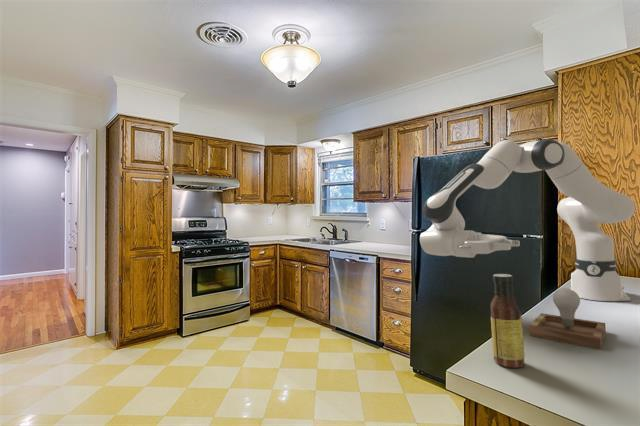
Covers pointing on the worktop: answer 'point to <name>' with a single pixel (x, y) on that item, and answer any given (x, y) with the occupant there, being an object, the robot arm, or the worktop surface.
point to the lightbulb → (566, 305)
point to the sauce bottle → (506, 324)
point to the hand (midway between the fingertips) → (514, 245)
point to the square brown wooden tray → (568, 330)
